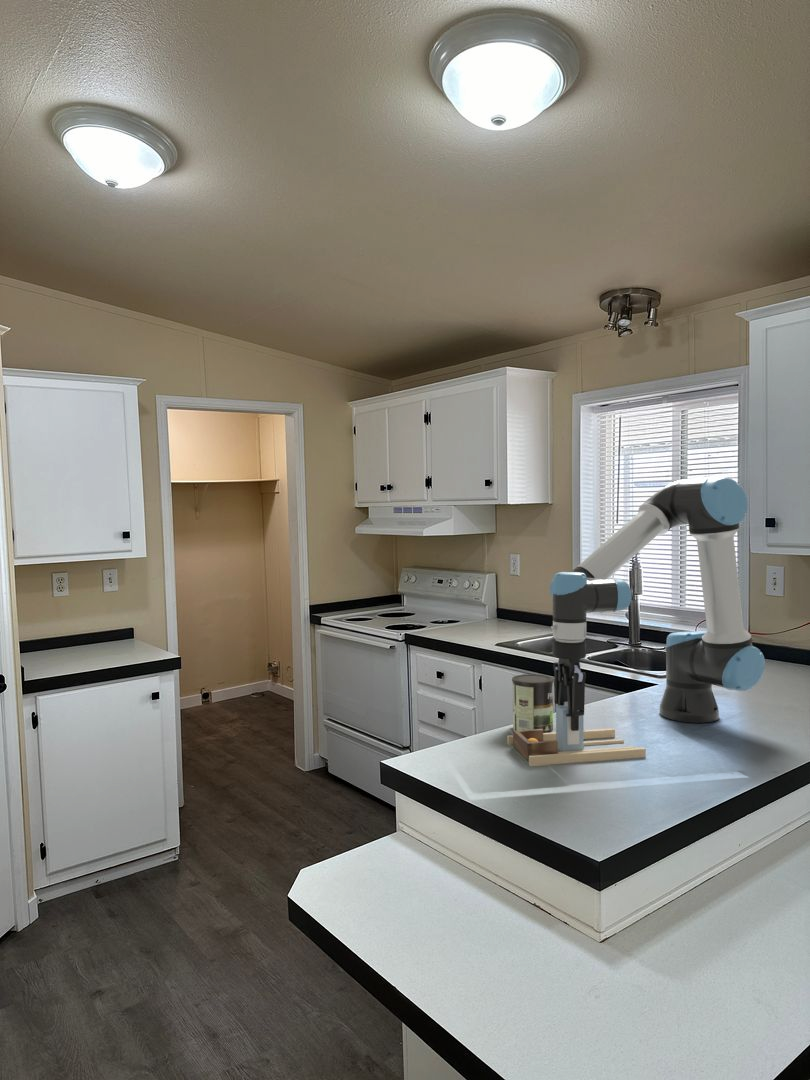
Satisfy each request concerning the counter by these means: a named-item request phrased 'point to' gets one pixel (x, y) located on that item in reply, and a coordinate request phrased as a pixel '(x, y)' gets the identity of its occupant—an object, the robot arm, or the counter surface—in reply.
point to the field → (584, 754)
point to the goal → (533, 743)
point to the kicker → (562, 730)
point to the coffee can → (533, 702)
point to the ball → (533, 740)
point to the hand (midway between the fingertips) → (568, 740)
